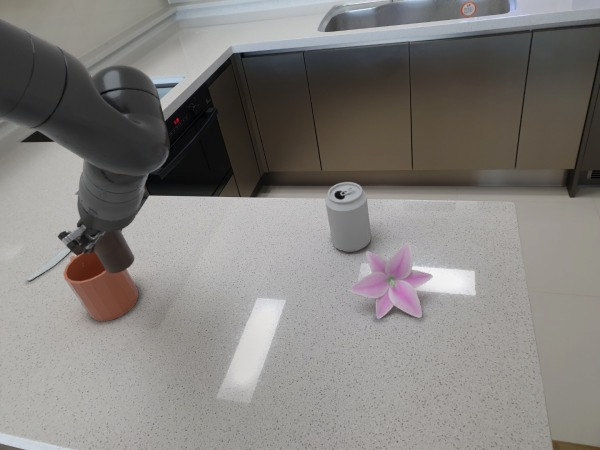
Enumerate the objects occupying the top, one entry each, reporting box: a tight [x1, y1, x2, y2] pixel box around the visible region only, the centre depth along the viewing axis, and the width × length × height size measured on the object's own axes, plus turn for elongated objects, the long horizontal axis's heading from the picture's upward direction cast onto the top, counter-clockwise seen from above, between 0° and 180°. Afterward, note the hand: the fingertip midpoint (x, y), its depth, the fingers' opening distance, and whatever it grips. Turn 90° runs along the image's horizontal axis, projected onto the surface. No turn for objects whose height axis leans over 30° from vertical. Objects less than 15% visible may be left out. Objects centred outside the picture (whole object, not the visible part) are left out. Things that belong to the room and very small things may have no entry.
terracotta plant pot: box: [63, 251, 140, 322], centre depth 85 cm, size 13×9×10 cm
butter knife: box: [26, 246, 72, 281], centre depth 105 cm, size 1×27×3 cm
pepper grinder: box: [94, 230, 135, 273], centre depth 72 cm, size 5×5×8 cm
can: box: [324, 181, 372, 253], centre depth 85 cm, size 8×8×12 cm
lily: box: [348, 241, 434, 320], centre depth 74 cm, size 12×12×10 cm
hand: (100, 238), depth 72 cm, fingers closed on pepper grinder, 4 cm apart
